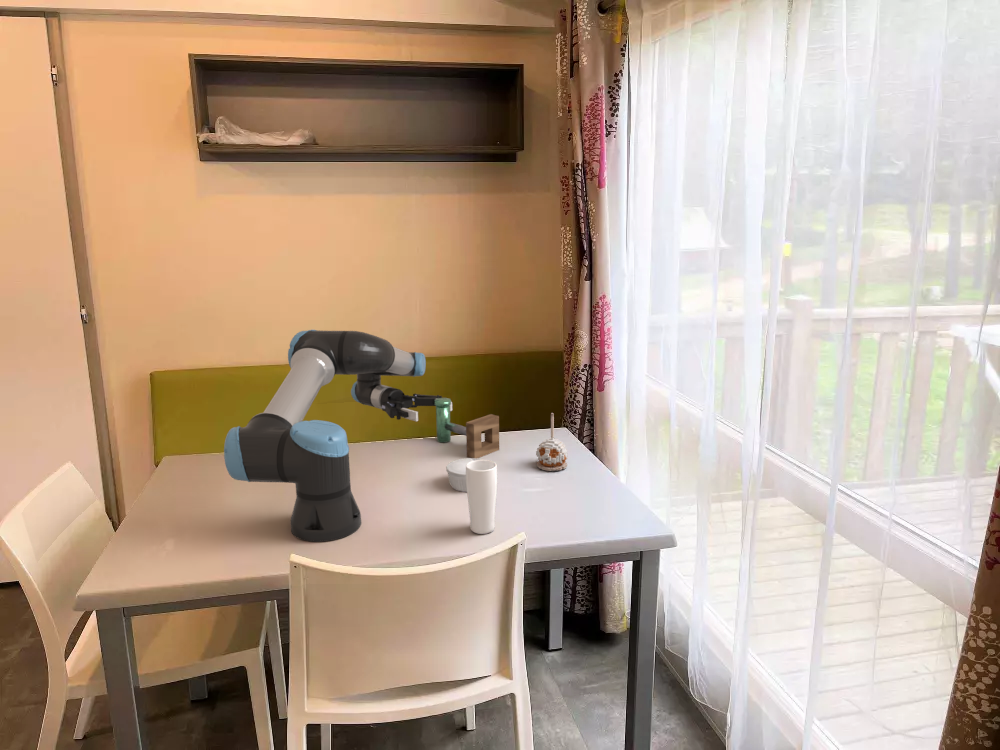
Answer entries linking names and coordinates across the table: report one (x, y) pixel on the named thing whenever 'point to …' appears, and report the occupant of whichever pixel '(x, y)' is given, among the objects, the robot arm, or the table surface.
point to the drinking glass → (481, 495)
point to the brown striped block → (474, 436)
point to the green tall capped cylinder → (445, 421)
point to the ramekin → (458, 473)
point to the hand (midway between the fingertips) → (434, 411)
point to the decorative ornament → (552, 452)
